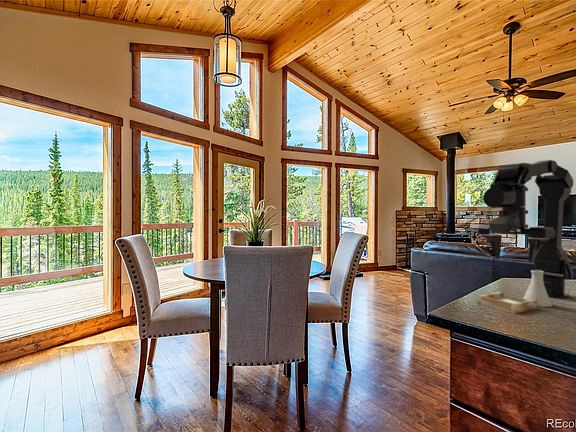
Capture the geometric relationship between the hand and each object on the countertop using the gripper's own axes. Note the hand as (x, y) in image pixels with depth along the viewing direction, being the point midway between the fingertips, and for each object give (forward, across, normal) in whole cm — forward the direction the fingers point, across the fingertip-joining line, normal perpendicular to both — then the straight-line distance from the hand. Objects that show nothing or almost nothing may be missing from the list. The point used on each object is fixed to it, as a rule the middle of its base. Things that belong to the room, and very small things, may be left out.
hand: (513, 260), depth 97 cm
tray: (+13, -1, -2) cm, 14 cm away
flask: (+14, +2, +8) cm, 16 cm away
